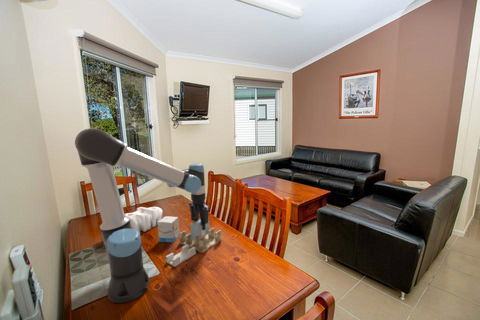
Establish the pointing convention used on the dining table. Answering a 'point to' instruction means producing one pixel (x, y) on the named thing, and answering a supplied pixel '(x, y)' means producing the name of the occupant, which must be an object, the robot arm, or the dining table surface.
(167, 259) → the holder
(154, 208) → the wavy white extrusion
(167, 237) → the ink box
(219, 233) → the rack
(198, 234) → the pale blue slab
